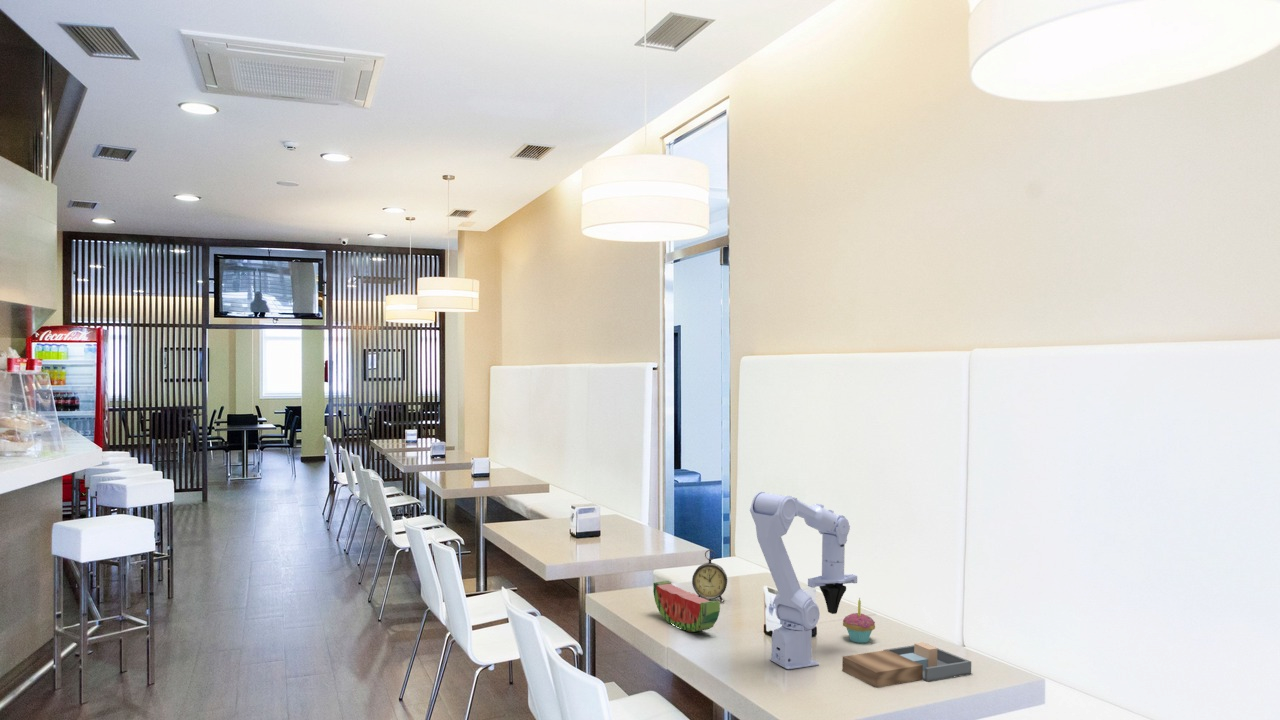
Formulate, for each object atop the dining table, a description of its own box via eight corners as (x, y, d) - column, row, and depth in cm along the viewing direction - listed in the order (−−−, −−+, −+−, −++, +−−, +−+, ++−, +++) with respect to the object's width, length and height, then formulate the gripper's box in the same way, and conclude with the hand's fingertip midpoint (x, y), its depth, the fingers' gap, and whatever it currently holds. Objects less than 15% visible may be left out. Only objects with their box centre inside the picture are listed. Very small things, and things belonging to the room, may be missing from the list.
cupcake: (876, 646, 220) (876, 600, 220) (843, 643, 221) (843, 598, 222) (873, 636, 228) (874, 593, 228) (842, 634, 230) (842, 590, 230)
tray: (927, 681, 194) (927, 668, 194) (883, 661, 207) (883, 649, 207) (971, 674, 200) (971, 661, 200) (925, 655, 213) (925, 643, 213)
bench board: (876, 687, 189) (876, 672, 189) (842, 670, 200) (842, 656, 200) (922, 679, 195) (922, 665, 195) (887, 663, 206) (887, 649, 206)
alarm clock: (691, 602, 261) (692, 550, 261) (693, 597, 266) (694, 547, 267) (726, 604, 259) (727, 552, 259) (727, 600, 264) (728, 549, 265)
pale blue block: (912, 672, 198) (912, 661, 198) (897, 665, 203) (897, 655, 203) (927, 669, 201) (927, 658, 201) (912, 663, 205) (912, 652, 205)
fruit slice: (651, 616, 243) (652, 582, 244) (669, 614, 247) (670, 580, 247) (702, 641, 221) (703, 603, 221) (721, 638, 224) (722, 601, 224)
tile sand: (929, 649, 200) (937, 648, 201) (914, 643, 205) (922, 642, 206) (929, 670, 200) (937, 669, 201) (914, 663, 205) (922, 662, 206)
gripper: (820, 565, 209) (819, 619, 208) (865, 561, 215) (864, 614, 214) (803, 559, 215) (802, 612, 215) (847, 556, 221) (847, 607, 221)
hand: (832, 612), depth 215 cm, fingers closed
